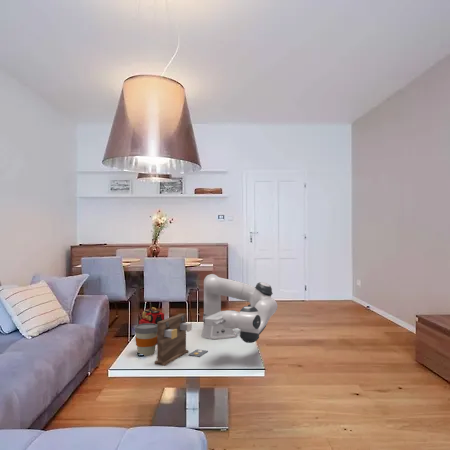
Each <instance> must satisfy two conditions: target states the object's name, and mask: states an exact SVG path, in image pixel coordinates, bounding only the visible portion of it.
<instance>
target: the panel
mask: <svg viewBox="0 0 450 450" xmlns="http://www.w3.org/2000/svg"><path fill="white" fill-rule="evenodd" d="M180 322H181V323H187V314H186V313H183V312H182V313H178V314H176V315H173V316H171V317H168V318H164V320H162V321H159V322H157V344H156V347H157V349H156V351H157V354H156V355H157V356H156V357H157V359H156V360H155V361H154V365H158V366H164V367H165V366H167V365H168V364H169V365H170V363H172V362H174V361H176V360H177V359H180V358H181V357H183V356H185V355H186V354H189V350H188V349H187V331H185V330H180ZM164 329H172V330H174V329H177V337H176V338H174V339H171V338H170V337H164Z"/></svg>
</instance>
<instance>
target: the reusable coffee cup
mask: <svg viewBox="0 0 450 450" xmlns="http://www.w3.org/2000/svg"><path fill="white" fill-rule="evenodd" d="M134 333H135V337H134V338H135V346H136V347H137V348H136V349H137V354H138V353H140V354H143V355H144V356H143V357H150V356H153V355H155V353H156V347H157V324H153V323H145V324H139V323H138V324H137V325H135V327H134Z"/></svg>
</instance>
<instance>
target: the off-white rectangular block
mask: <svg viewBox="0 0 450 450" xmlns="http://www.w3.org/2000/svg"><path fill="white" fill-rule="evenodd" d="M192 324H193V323H192V322H189V323H187V322H186V323H181V322H180V330H185V331H186V333H187V332H190V331H192V329H193V327H192V326H193V325H192Z"/></svg>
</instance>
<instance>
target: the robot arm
mask: <svg viewBox="0 0 450 450" xmlns="http://www.w3.org/2000/svg"><path fill="white" fill-rule="evenodd" d="M272 295H273V288H272V286H271V285H270V284H268V282H263V281H261V282H258V283H256V285H255V286H253V285H251V284H249V283H245V282H242V281H238V280H234V279H229V278H223V277H219V276H218V275H217V274H214V273H211V274H207V275H206V276H205V277H204V279H203V314H202V315H203V316H202V322H203V325H202V326H203V327H202V332H201V337H202V338H205V339H211V340H220V339H231V338H236V337H237V333H236V332H235V331H234V330H235V329H239V330H240V331H239V333H240V334H239V338H240V339H241V340H242V341H243V342H244V343H247V344H248V343H249V344H253V343H255V342H257V341H258V340H259V339H260V335H261V333H262V332H263V331H264V330H265V329H266V327H267V325H268V322H269V320H270V319H271V318H272V316H273V315H274V314H275V313H276V312H277V311H278V307H279V306H278V303H277V301H276V300H275V299H274V298H272ZM221 296H224V297H228V298H233V299H236V300H240V301H246V302H248V303H249V304H248V305H244V306H242V308H240V310H239V311H236V310H234V309H231V310H228V309H227V310H222V298H221Z"/></svg>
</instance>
